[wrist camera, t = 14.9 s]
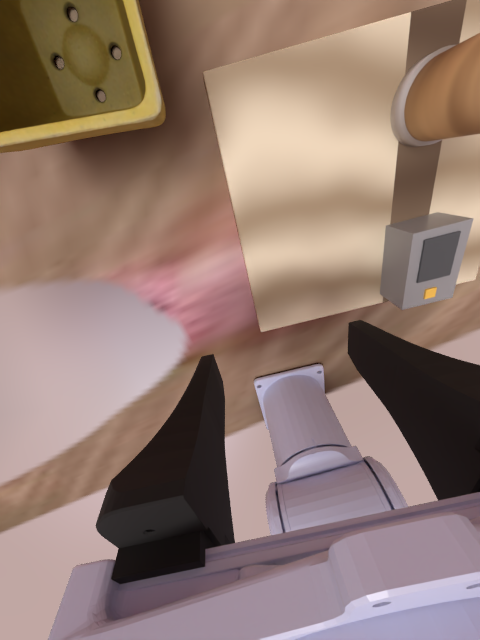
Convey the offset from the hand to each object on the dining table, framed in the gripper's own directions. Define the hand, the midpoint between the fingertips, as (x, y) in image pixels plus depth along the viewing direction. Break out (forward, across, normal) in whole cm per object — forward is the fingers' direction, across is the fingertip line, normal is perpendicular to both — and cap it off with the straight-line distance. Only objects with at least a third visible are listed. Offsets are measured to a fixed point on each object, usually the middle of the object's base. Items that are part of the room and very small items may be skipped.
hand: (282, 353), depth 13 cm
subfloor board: (+10, -10, -4) cm, 15 cm away
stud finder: (+9, -13, 0) cm, 15 cm away
